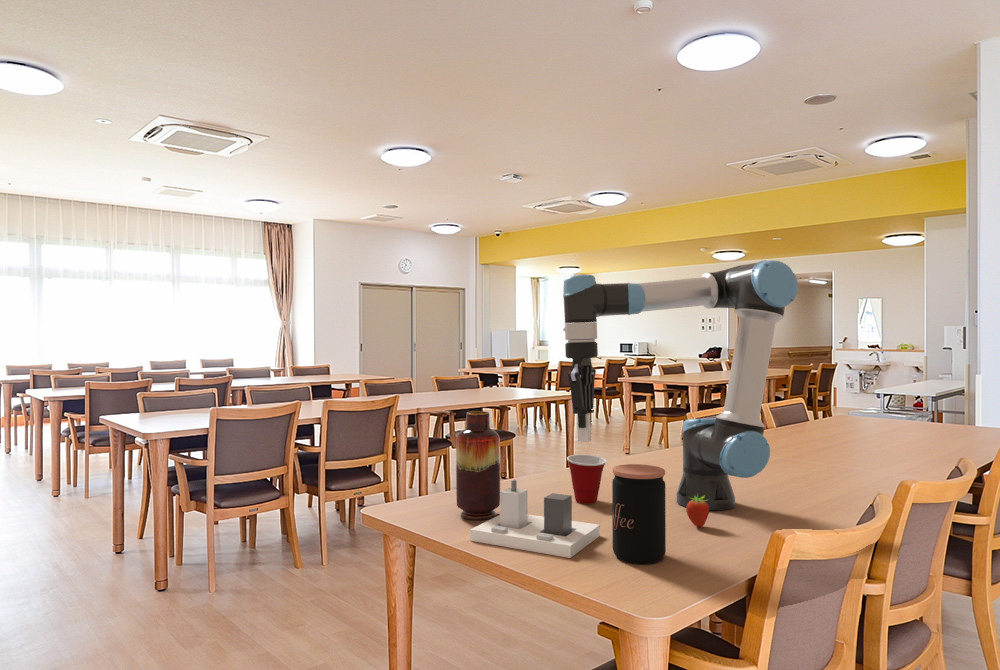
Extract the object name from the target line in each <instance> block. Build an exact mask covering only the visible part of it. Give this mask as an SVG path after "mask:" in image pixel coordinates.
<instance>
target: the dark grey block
mask: <svg viewBox="0 0 1000 670" xmlns="http://www.w3.org/2000/svg"><path fill="white" fill-rule="evenodd" d="M572 500H573V499H572V495H569V494H561V493H554V492H552V493H551V494H548V495H546V496H545V497H544V498H543V517H544V533H547V534H553V535H559V536H567V535H569V534H570V533H572V521H573V516H572V515H573V512H572V511H573V510H572V509H573V505H572V504H573V502H572Z"/></svg>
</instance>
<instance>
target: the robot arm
mask: <svg viewBox="0 0 1000 670" xmlns="http://www.w3.org/2000/svg"><path fill="white" fill-rule="evenodd" d="M798 291H799V283H798V278H797V275H796V274H795V273H794V272H793V270H792V267H790V266H789V265H788V264H787V263H784V262H783V261H779V260H761V261H759V262H753V263H748V264H741V265H740V264H739V265H737V266H733V267H729V268H727V269H722V270H717V271H713V272H704V273H703V274H702V275H701V276H700V277H691V278H680V279H669V280H660V281H658V280H657V281H649V282H639V283H635V282H634V283H631V282H624V283H622V282H621V283H597V281H596V276H594V275H591V274H589V275H588V274H576V275H569V276H566V277H565V278H564V279H563V293H562V294H563V295H562V298H563V308H564V309H563V310H564V327H563V332H564V338H565V339H564V340H566V341H567V342H566V343H565V344H564V345H565V357H566V359H572V362H571V371H569V372H567V378H568V381H569V387H570V397H571V403H572V414H574V415H575V414H576V417H577V418H576V420H577V421H576V422H577V442H581V443H582V442H583V443H589V442H592V432H591V431H592V430H591V429H592V428H591V414H594V413H595V409H594V403H595V402H594V401H595V400H594V398H595V378H596V374H597V371H596V368H593V363H592V359H593V358H594V359H595V358H597V357H598V356H599V355H598V351H599V350H598V349H599V348H598V343H597V341H596V340H597V339H598V320H597V318H599V317H600V318H601V317H607V316H625V315H626V316H627V315H628V316H630V315H638V314H641V313H642V312H643V313H644V312H645V313H646V312H654V311H663V310H673V309H681V308H691V307H701V306H703V307H704V308H705V309H734V313H735V315H737V317H738V318H739V319H738V320H739V321H738V327H737V331H736V338H735V344H734V348H733V353H732V354H733V355H732V360H731V365H730V371H729V372H730V373H729V378H728V383H727V389H726V393H725V394H726V395H725V400H724V404H723V405H724V406H723V407H724V408H723V411H722V412H720V413H719V414H718V415H716V416H715V417H713V418H712V417H711V418H709V417H707V418H689V419H686V420H684V422H682V423H683V424H682V425H683V426H682V432H681V435H682V466H683V467H682V476H681V479H680V481H679V485H678V488H677V491H676V503H677V504H678V505H680V506H682V507H685V508H686V507H687V504H688V503H689V502H690V501H691V500H692V499H690V498H694V496H696V497H697V494H698V498H701V497H702V496H704V495H705V497H704V498H703V499H702V500H707V501H705V502H706V503H707V504H708V506H709V511H725V510H731V509H734V508H736V496H735V493H734V490H733V487H732V484H731V481H730V478H729V476H731V477H736V478H742V479H748V478H752V477H755V476H757V475H758V474H759V473H761V472H762V471H763V470H764V469H765V468H766V467H767V465H768V463H769V461H770V456H771V447H770V446H771V445H770V444H769V443H768V440H767V438H766V437H765V436H764V434H765V433H764V432H765V428H766V427H765V424H764V423H763V422H762V420H761V418H760V416H761V411H762V404H763V399H764V393H765V387H766V382H767V375H768V369H769V365H770V364H769V363H770V359H771V351H772V348H773V347H772V346H773V341H774V335H775V329H776V324H777V323H778V322H780V321H781V320H782V319H784V316H785V308H786V307H787V306H789V305H790V304H791V303H792V302H794V300H795V299H796V297H797V295H798V293H799V292H798ZM689 497H690V498H689ZM694 499H695V498H694Z"/></svg>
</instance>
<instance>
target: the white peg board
mask: <svg viewBox="0 0 1000 670" xmlns="http://www.w3.org/2000/svg"><path fill="white" fill-rule="evenodd" d="M510 483H511V484H510V485H511V486H510V487H508V488H506V489H504V490H502V491H501V490H500V505H499V508H500V509H499V511H500V514H499V515H496V516H495V517H494V518H491V519H487V520H485V522H483V523H481V524H480V523H479V524H478V525H476V526H474V527H471V529H469V531H470V533H469V534H470V535H469V536H470V537H469V538H470V542H477V543H482V544H487V545H491V546H492V545H493V546H499V547H505V548H511V549H516V550H522V551H527V552H534V553H540V554H546V555H551V556H557V557H561V558H563V557H564V558H569V559H571V558H572V557H574V556H575V555H577V554H578V553H579V552H580V551H582V550H583V549H584V548H586V547H588V545H590V544H591V543H592V542H594V541H595V540H596V539H598V538H599V537H600V536H601V529H600V528H601V524H596V523H589V522H584V521H583V522H582V521H576V520H572V533H570V534H569V535H567V536H559V535H553V534H547V533H544V516H541V515H535V514H528V501H529V500H528V497H529V496H528V489H524V488H523V489H521V488H517V480H516V479H511V481H510Z"/></svg>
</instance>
